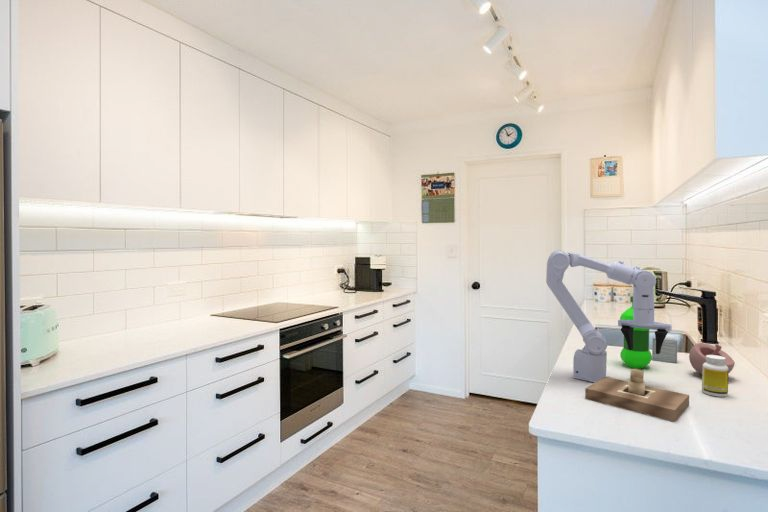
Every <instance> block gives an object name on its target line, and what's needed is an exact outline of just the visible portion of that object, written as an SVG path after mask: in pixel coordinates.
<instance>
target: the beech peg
mask: <svg viewBox="0 0 768 512" xmlns="http://www.w3.org/2000/svg"><path fill="white" fill-rule="evenodd" d="M629 373H630V375H629V376H630V378H629V379H628V382H629V384H628V393H632V394H636V395H640V396H645V385H646V381H645V380H644V375H645V373H644V370H641V369H638V368H631V369H630V372H629Z"/></svg>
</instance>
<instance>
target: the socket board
mask: <svg viewBox="0 0 768 512" xmlns="http://www.w3.org/2000/svg"><path fill="white" fill-rule="evenodd" d="M609 377H610V376H608V377H603V378H602V379H600V380H598V381H597V382H592V383H591V384H590V385H589V386H587V387H585V388H584V389H585V390H584V391H585V396H584V398H585V400H589V401H594V402H597V403H601V404H604V405H608V406H611V407H612V406H613V407H616V408H620V409H623V410H628V411H632V412H635V413H639V414H642V415H645V416H646V415H647V416H651V417H654V418H658V419H663V420H666V421H670V422H676V421H677V420H678V419H679V418H680V417H681V416H682V414H683V413H684V412H685V411H686V410H687V409H688V408H689V407H690V394H686V393H682V392H679V391H678V392H677V391H673V390H668V389H664V388H659V387H654V386H650V385H646V384H645V396H640V395H636V394H632V393H628V384H629V381H626V380H623V379H617V378H613V377H611V378H609Z"/></svg>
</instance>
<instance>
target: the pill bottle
mask: <svg viewBox="0 0 768 512" xmlns="http://www.w3.org/2000/svg"><path fill="white" fill-rule="evenodd" d="M706 361H707V362H705V363H704V364H703V366H702V374H701V391H702V393H704V394H706V395H709V396H712V397H719V398H721V397H722V398H723V397H724V398H725V397H727V396H728V394H729V374H730V373H729V369H728V367H727V366H726V365H725V364H724V363H725V362H726V358H725V357H722V356H717V355H706ZM728 373H729V374H728Z"/></svg>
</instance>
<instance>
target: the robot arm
mask: <svg viewBox="0 0 768 512" xmlns="http://www.w3.org/2000/svg"><path fill="white" fill-rule="evenodd" d="M569 267H571V268H574V267H585V268H588V269H591V270H595V271H599V272H601V273H605V274H606V277H607V278H608V279H610V280H613V281H617V282H619V283H622V284H626V285H633V287H632V288H633V289H632V290H633V293H632V296H633V320H620V319H618V320H617V327H621V328H620V331H621V333H622V335H623V338H624V337H625V339H626V341H627V344H628V348H629V350H632V349H633V330H634V327H635V328H644V329H650V330H655V331H654V336H655V338H656V354H659V353H660V352H661V347H662V344H663V341H664V339H665V337H667V335H668V333H669V332H672V324H670V323H663V322H656V321H655V294H654V290H655V289H654V287H655V286H656V285H657V279H656V277H655V275H654V274H653V273H652V272H651V271H648V270H644V269H643V268H640V266H638V265H637V266H635V267H634V266H632V265H628V264H626V263H625V262H624V261H622V260H618V261H612V262H611V263H608V262H604V261H602V260H598V259H595V258H592V257H589V256H586V255H584V254H580V253H575V252H570V251H566V252H565V251H563V250H559V249H557V250H554V251H553V252H551V253H550V254H549V257H548V259H547V262H546V277H545V278H546V279H545V281H546V284H547V286H548V288H549V290H550V291H551V292H552V294H553V295H554V297H555V298H556V299H557V301H558V302H559V304H560V305H561V307H562V309H564V312H565V313H566V314H567V315H568V317H569V319H570V320H571V321H572V323H573V325H574V326H575V327H576V329H577V330H578V332H579V333H580V335H581V337H582V340H583V343H584V347H583V348H581V349H579V348H578V349H576V350H575V352H574V353H573V361H572V362H573V363H572V364H573V367H572V368H573V370H572V371H573V372H572V373H573V374H572V375H571V376H572V378H574V379H578V380H583V381H587V382H590V383H595V382H597V381H598V380H600V379H602V378H603V377H609V378H612V377H611V376H608V375H607V359H608V358H607V355H608V353H607V347H608V342H607V340H606V338H605V337H604V335H603V333H602V332H601V331H600V330H598V329H596V327H594V326H593V324H592V322H591V321H590V319H589V318H588V317H587V316H586V314H585V313H584V311H582V308H581V307H580V305H579V304H578V302H577V301H576V300H575V299H574V296H573V295H572V294H571V292H570V291H569V290H568V288H567V287H566V285H565V284H564V283H563V279H564V275H565V273H566V271H567V269H568V268H569Z"/></svg>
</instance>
